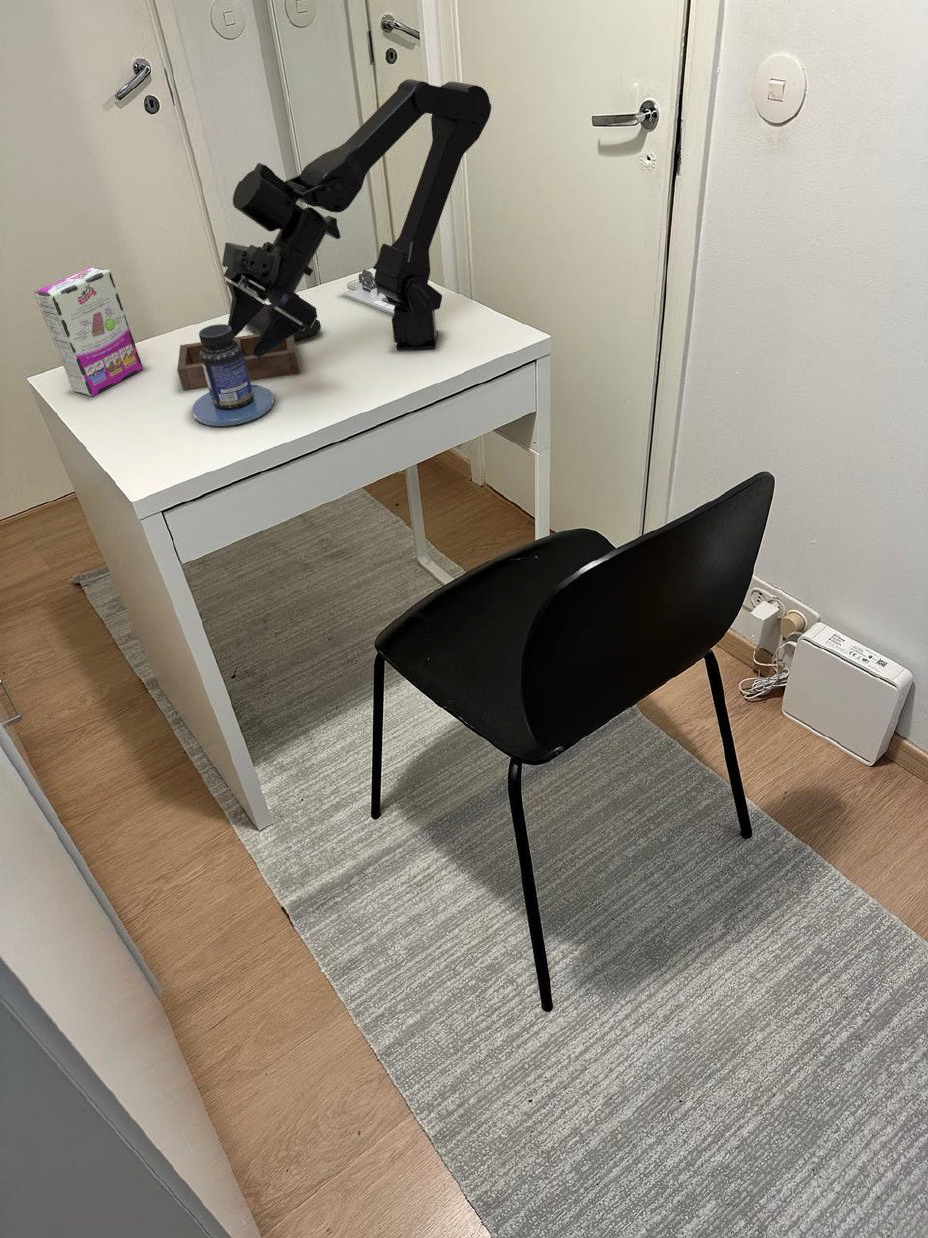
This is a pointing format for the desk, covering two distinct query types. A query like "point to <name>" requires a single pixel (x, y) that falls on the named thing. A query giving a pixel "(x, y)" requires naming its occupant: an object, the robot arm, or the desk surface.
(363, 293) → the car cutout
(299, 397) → the desk surface
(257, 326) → the carrying case
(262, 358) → the rack
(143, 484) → the desk surface
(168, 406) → the desk surface
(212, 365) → the pill bottle
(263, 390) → the plate
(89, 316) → the candy bar box
